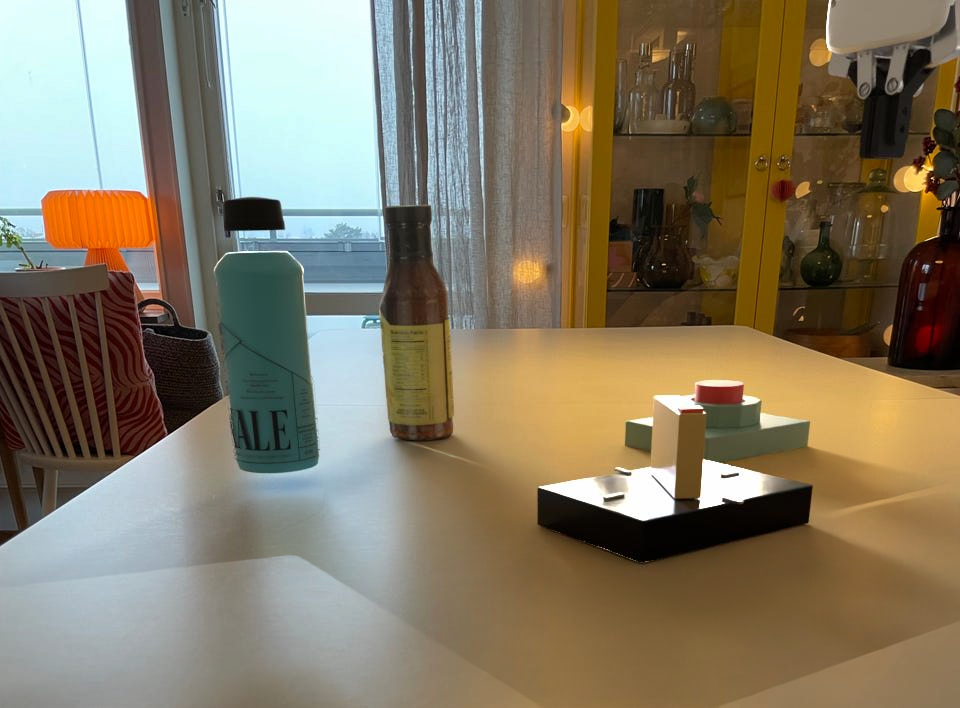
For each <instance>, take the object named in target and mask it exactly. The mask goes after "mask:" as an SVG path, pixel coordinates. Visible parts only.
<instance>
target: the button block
mask: <svg viewBox="0 0 960 708" xmlns="http://www.w3.org/2000/svg"><path fill="white" fill-rule="evenodd" d="M680 397H681V398H683V399H685V400H686V401H688V402H689V403H691V404H692V405H694V406H700V407H702V408H704V412H705V413H706V414H707V417H706V431H705V446H704V460H707V461H711V462H715V463H724V462H729V461H735V460H740V459H745V458H751V457H756V456H763V455H767V454H773V453H774V454H775V453H779V452H785V451H789V450H794V449H800V448H806V447H808V445H809V436H810V428H811V420H807V419H799V418H794V417H787V416H781V415H777V414H770V413H765V412H761V411H762V399H760V398H758V397H756V396H752V395H751V396H750V395H744V394H743V402H741V403H734V404H709V403H699V402H694V399H695V394H688V395H682V396H680ZM624 423H625V424H624V425H625V426H624V446H625V447H629V448H634V449H637V450H642V451H646V452H650V453H651V448H652V428H653V416H651V417H643V418H637V419H636V418H635V419H630V420H625V422H624Z"/></svg>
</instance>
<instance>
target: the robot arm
mask: <svg viewBox="0 0 960 708" xmlns="http://www.w3.org/2000/svg"><path fill="white" fill-rule="evenodd" d="M826 45H827V48H828V51H830V52H831V54H830V58H829V61H828V62H829V63H828V66H827V73H828V75H830V76H832V77H839V78H844V79H850V81H851V82H852V84H853V85H854V86H855V88H856V91H857V96H858V98H859V99H860V100H864V102H863V112H862V119H861V128H860V135H859V152H858V155H859V158H860V159H861V160H881V161H883V160H890V159H902V158H903V157H904V155H905V151H906V144H907V141H908V139H909V133H910V124H911V116H912V110H913V103H914V102H913V101H914V98H916V97H918V96H920V94H921V93H922V90H923V88H924V85H925V82H926V81H927V80H928V78H929V77H930V76H931V75H932V74H933V72H934V71H935V70H936V69H937V68H938V66H940V65H943V64H946V63H948V62H950V61H952V60H954V59H957V58H959V57H960V0H828V8H827V19H826ZM856 55H857V56H856Z"/></svg>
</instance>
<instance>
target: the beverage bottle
mask: <svg viewBox="0 0 960 708" xmlns="http://www.w3.org/2000/svg"><path fill="white" fill-rule="evenodd" d="M223 201H224V202H223V218H224V219H223V231H224V232H254V231H255V232H257V231H260V232H261V231H262V232H263V231H286V224H285V220H284V215H283V209H282V203H281V201H280V200H279V199H275V198H270V197H263V196H245V197H237V198H231V199H226V200H223ZM220 258H221V259H220V260H219V261H218V262H217V263H216V265H215V267H214V269H213V275H214V277H215V284H216V291H217V301H218V302H216V305H217V307H218V312H219V313H218V312H216V314H217V316H218V319H219V321H220V323H219V324H218V330H219V332H218V333H220V348H221V354H222V355H223V356H224V359H223V361H222V362H223V364H222V367H223V368H224V364H225V368H224V372H225V373H226V381H225V382H224V383H225V384H226V386H225V388H226V391H225V392H226V396H227V398H228V399H229V406H230V407H229V406H227V409H228V410H229V411H230V414H228V417H229V425H230V430H231V431H230V433H231V436H232V440H231V441H232V442H231V443H232V444H233V447H234V448H233V450H232V452H233V453H234V455H233V457H234V460H236V463H237V465H238V468H239V469H240V470H241V471H243V472H246V473H247V472H248V473H253V474H283V473H284V474H285V473H292V472H293V473H294V472H299V471H304V470H309V469H311V468H314V467H315V466H317V465H318V464H319V458H320V451H321V448H319V446H320V440H319V436H318V435H320V434H319V433H320V432H319V431H318V426H317V424H319V423H318V417H317V415H316V413H318V412H317V411H318V410H317V409H316V404H315V402H316V401H317V400H316V398H315V393H314V391H315V390H316V389H315V387H314V382H315V381H314V378H313V376H312V368H311V356H310V345H309V344H310V343H309V333H308V319H307V307H306V295H305V294H306V293H305V283H304V273H305V272H304V270H305V269H304V266H303V265H302V264H301V263H300V261H298V259H296V258H295V256H294V255H292V254H291V253H290V252H289V251H287V250H272V251H271V250H269V251H268V250H267V251H264V250H263V251H235V252H234V251H233V252H226V253H224V255H223V256H222V257H220Z"/></svg>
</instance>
